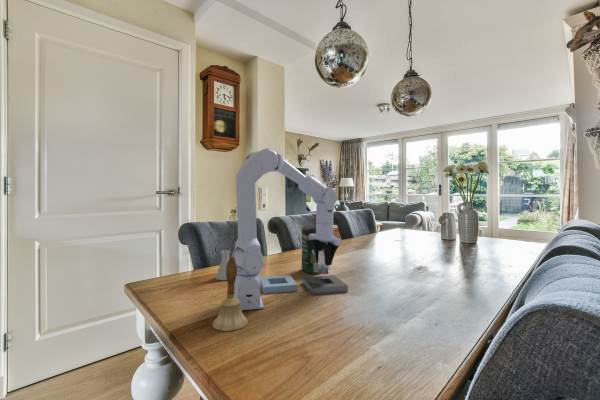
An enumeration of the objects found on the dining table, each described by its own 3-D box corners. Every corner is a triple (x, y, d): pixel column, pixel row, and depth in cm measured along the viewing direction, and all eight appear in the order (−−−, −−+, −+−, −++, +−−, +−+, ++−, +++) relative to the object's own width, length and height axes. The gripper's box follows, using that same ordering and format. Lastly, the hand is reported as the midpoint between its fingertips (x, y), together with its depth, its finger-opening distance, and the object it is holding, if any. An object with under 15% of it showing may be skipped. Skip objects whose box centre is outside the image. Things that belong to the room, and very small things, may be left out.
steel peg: (331, 273, 94) (332, 251, 94) (320, 274, 93) (320, 251, 93) (327, 270, 98) (327, 249, 98) (316, 271, 97) (316, 249, 97)
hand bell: (233, 313, 75) (233, 252, 74) (255, 322, 69) (255, 257, 69) (205, 324, 68) (205, 257, 68) (226, 335, 63) (226, 263, 63)
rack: (297, 290, 92) (297, 284, 92) (263, 293, 89) (263, 287, 89) (290, 280, 103) (290, 275, 103) (259, 282, 100) (259, 277, 100)
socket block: (347, 291, 92) (347, 285, 92) (312, 294, 89) (312, 288, 89) (333, 280, 103) (334, 275, 103) (302, 282, 100) (302, 277, 100)
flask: (238, 275, 108) (238, 249, 108) (231, 281, 101) (231, 253, 101) (219, 275, 109) (219, 249, 109) (212, 280, 102) (212, 252, 102)
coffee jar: (299, 268, 119) (299, 224, 119) (316, 267, 122) (317, 224, 121) (306, 275, 110) (307, 227, 110) (325, 273, 112) (326, 226, 112)
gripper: (348, 224, 92) (348, 266, 92) (320, 220, 104) (319, 258, 104) (332, 225, 88) (331, 269, 88) (304, 221, 100) (304, 260, 100)
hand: (324, 263), depth 96 cm, fingers closed on steel peg, 4 cm apart
